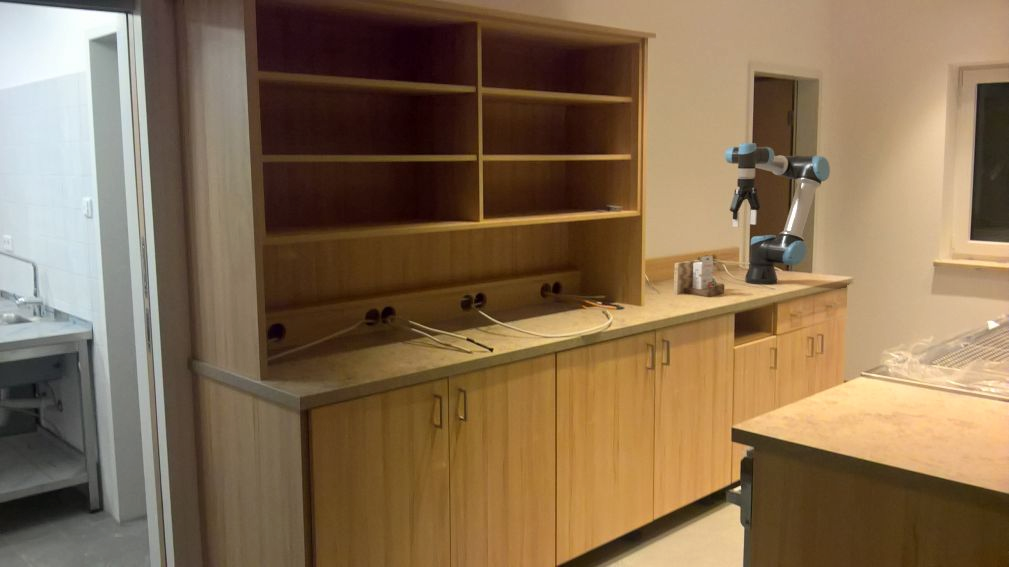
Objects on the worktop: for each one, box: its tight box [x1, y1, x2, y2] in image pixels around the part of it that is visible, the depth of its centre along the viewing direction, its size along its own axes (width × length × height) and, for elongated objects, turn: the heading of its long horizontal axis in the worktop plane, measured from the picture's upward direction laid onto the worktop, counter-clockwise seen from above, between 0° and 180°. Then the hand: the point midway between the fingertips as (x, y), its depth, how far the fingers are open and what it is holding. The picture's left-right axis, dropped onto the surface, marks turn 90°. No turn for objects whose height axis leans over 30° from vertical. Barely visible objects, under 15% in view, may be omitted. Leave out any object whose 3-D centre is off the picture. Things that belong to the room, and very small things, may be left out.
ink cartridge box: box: [693, 255, 714, 290], centre depth 379 cm, size 9×5×15 cm, turn 132°
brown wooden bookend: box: [673, 258, 725, 298], centre depth 380 cm, size 22×15×14 cm
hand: (744, 225), depth 381 cm, fingers open, 13 cm apart
